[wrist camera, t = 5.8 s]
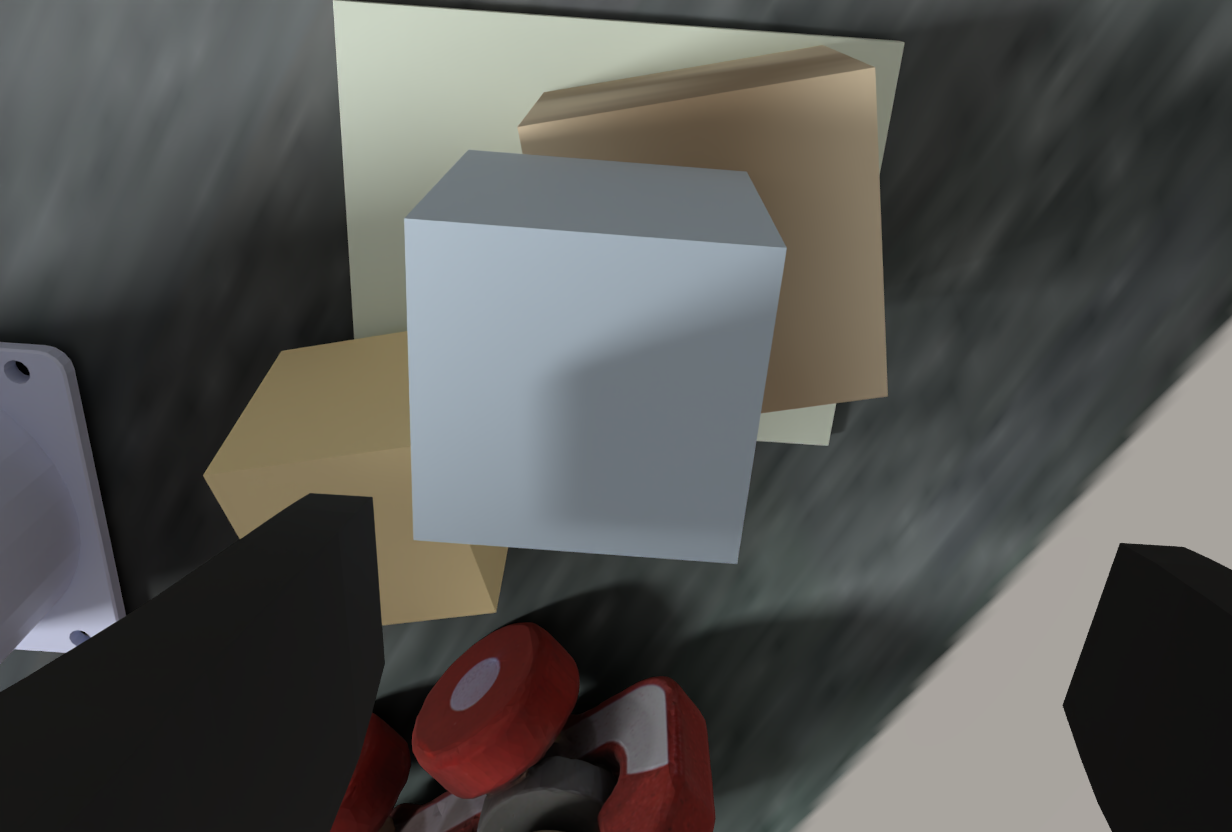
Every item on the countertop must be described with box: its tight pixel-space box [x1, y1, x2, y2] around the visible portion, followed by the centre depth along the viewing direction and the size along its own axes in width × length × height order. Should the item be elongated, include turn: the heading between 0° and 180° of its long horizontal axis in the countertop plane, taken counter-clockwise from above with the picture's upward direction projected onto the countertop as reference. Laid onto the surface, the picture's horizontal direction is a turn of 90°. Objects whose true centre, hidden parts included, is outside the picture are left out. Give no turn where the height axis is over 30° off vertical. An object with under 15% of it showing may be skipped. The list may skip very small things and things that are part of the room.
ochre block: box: [203, 331, 508, 625], centre depth 18 cm, size 4×4×4 cm
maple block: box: [517, 45, 888, 413], centre depth 16 cm, size 5×5×4 cm
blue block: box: [404, 150, 787, 564], centre depth 12 cm, size 4×4×4 cm
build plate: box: [333, 0, 905, 446], centre depth 18 cm, size 10×8×1 cm
